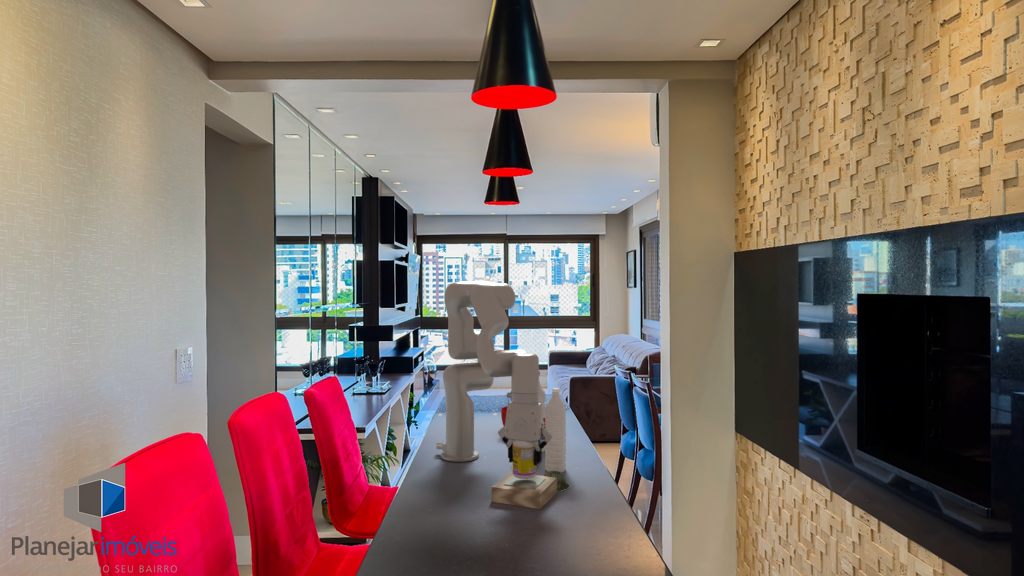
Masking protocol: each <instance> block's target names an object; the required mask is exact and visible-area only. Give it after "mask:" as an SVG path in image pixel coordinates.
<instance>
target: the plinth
mask: <svg viewBox="0 0 1024 576" xmlns="http://www.w3.org/2000/svg"><path fill="white" fill-rule="evenodd" d="M490 490H491V496H490V497H491V499H490V500H491V502H493V503H496V504H505V505H512V506H519V507H525V508H531V509H538V510H541V509H542V508H543V507H544V506H545V505H546V504H547V503H548V502H549V501H550V500H551V499H552V498H553V497H554V496H555V495H556V494H557V492H558V491H557V478H555V477H547V476H544V475H540V474H539V475H538V474H536V476H535V477H533V478H529V479H520V478H516V477H515V476H514V475H513V471H510V472H509V473H508V474H507V475H505V476H504V477H502V478H501V479H500V480H498V481H497V482H496V483H494V484H493V485H492V486H491V488H490Z"/></svg>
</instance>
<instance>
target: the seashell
mask: <svg viewBox="0 0 1024 576" xmlns="http://www.w3.org/2000/svg"><path fill="white" fill-rule="evenodd" d="M562 473H563V472H558V471H550V472H548V471H547V472H546V473H544V475H543V476H547V477H555V478H557V492H562V491H561V490H563V491H565V490H564V489H567V488H568V487H569V486H570V483H568V481H566V478H565V476H564V474H562ZM569 488H570V487H569ZM558 490H559V491H558ZM567 490H568V489H567Z"/></svg>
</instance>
